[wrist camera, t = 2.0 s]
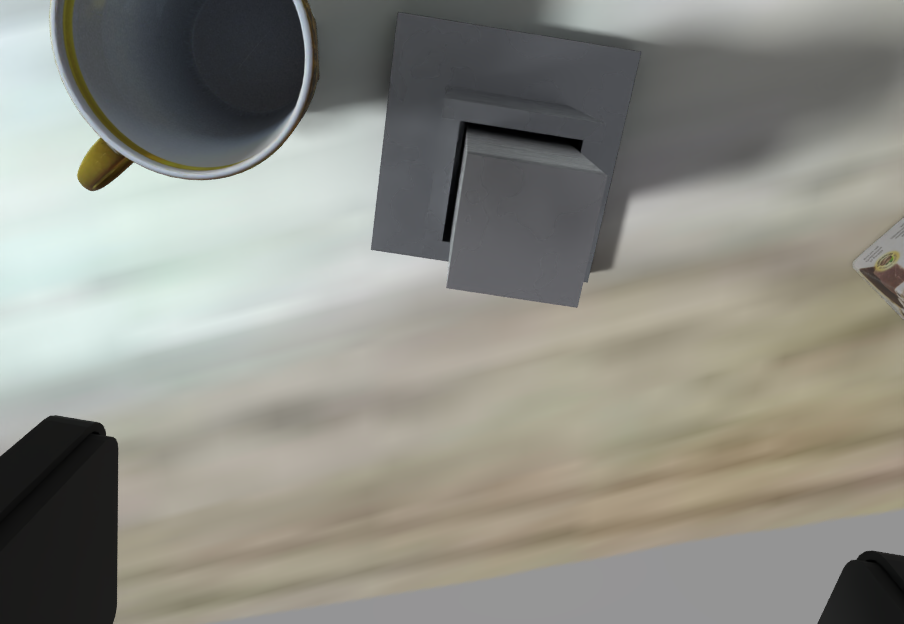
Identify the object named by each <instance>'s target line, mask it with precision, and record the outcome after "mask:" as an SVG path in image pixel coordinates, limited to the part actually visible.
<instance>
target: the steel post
mask: <svg viewBox="0 0 904 624" xmlns="http://www.w3.org/2000/svg"><path fill="white" fill-rule="evenodd" d="M607 177H608V176H607V175H606V174H605V173H604V172H603V171H601V170H600V169H599V168H598V167H597V166H595V165H594V164H593V163H592V162H591V161H590V160H588V159H587V158H586V157H585V156H584V155H582V154H581V153H580V152H579V151H578V150H577V149H575V148H574V147H573V146H572V145H571V144H569V143H568V142H567V141H566V140H565V139H563V138H562V137H560V136H554V135H548V134H541V133H535V132H529V131H522V130H516V129H510V128H503V127H497V126H491V125H484V124H478V123H472V122H466V121H465V126H464V132H463V139H462V145H461V152H460V158H459V165H458V171H457V178H456V184H455V192H454V204H453V215H452V227H451V239H450V251H449V263H448V274H447V286H446V288H449V289H456V290H463V291H470V292H476V293H483V294H490V295H496V296H503V297H510V298H516V299H523V300H530V301H536V302H543V303H550V304H556V305H563V306H570V307H576V308H577V307H578V303H579V298H580V294H581V290H582V285H583V281H584V277H585V272H586V268H587V264H588V259H589V255H590V251H591V246H592V242H593V238H594V233H595V229H596V225H597V220H598V216H599V212H600V207H601V203H602V199H603V194H604V190H605V186H606V181H607Z"/></svg>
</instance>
